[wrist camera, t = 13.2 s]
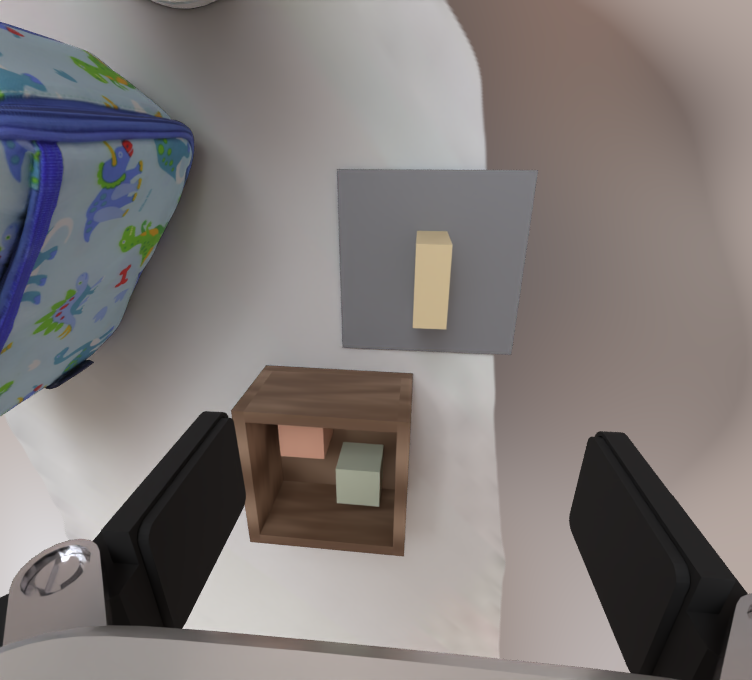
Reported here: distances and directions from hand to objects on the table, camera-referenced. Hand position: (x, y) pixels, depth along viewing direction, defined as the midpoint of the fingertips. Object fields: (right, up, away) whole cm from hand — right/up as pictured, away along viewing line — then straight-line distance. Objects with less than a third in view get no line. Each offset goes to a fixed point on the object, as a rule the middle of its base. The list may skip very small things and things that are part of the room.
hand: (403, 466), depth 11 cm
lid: (+4, +10, +24) cm, 26 cm away
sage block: (-2, -9, +31) cm, 32 cm away
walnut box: (-4, -6, +31) cm, 32 cm away
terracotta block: (-7, -4, +29) cm, 30 cm away
